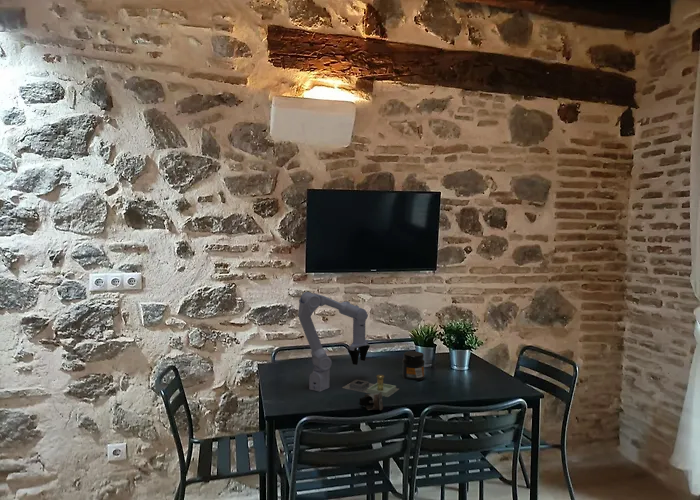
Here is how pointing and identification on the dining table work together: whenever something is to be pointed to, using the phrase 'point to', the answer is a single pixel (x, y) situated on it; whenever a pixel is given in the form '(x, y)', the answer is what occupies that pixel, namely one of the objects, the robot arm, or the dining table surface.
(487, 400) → the dining table surface
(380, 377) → the lock pin
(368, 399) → the caster wheel
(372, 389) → the tray
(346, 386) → the plate
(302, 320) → the robot arm
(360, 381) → the tensioner collar
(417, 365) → the supplement container
